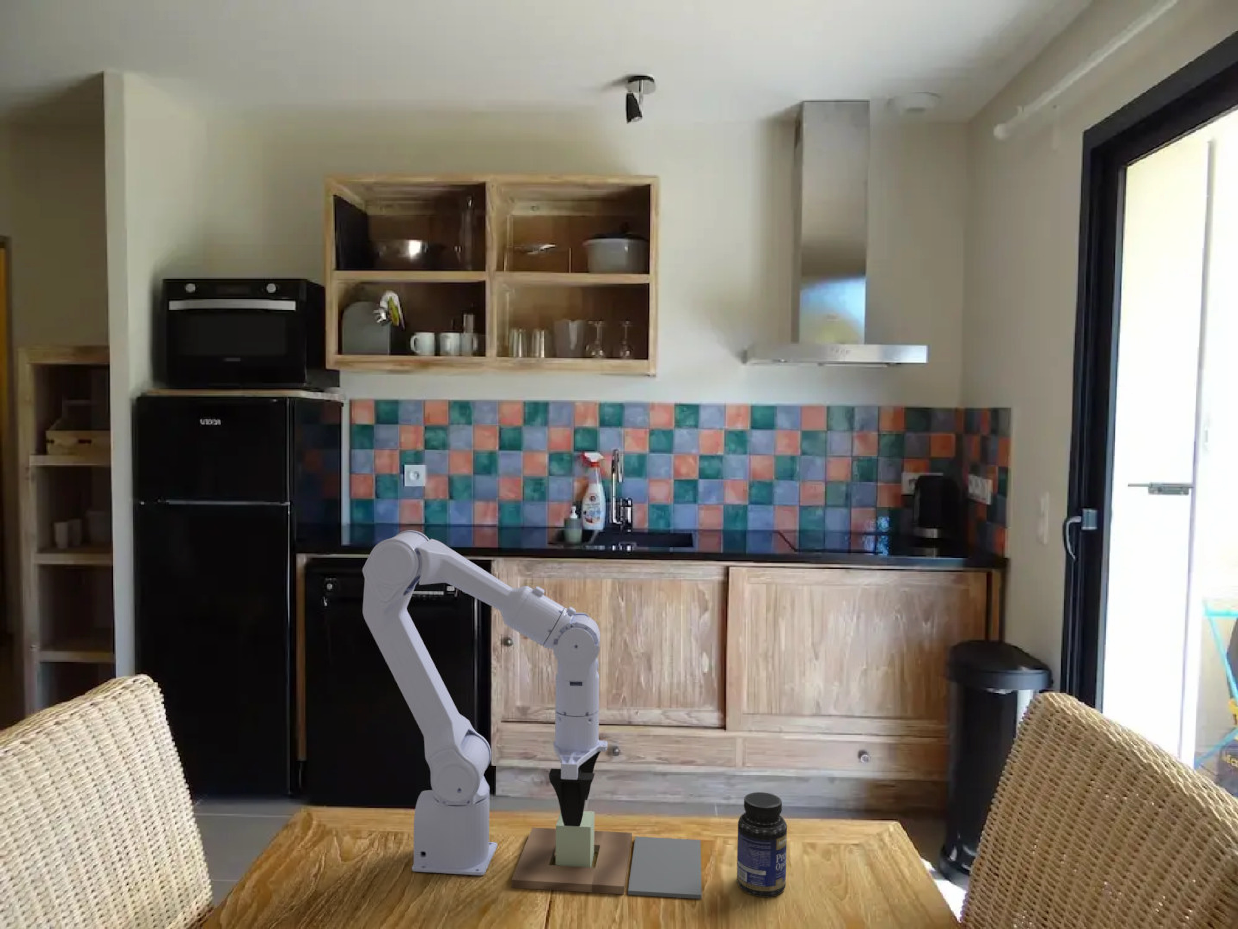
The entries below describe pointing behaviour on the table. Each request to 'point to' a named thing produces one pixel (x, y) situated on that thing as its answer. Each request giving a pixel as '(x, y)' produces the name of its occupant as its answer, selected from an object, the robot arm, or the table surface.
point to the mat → (666, 868)
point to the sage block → (575, 842)
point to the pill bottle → (762, 846)
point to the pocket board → (601, 879)
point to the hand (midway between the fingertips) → (576, 811)
